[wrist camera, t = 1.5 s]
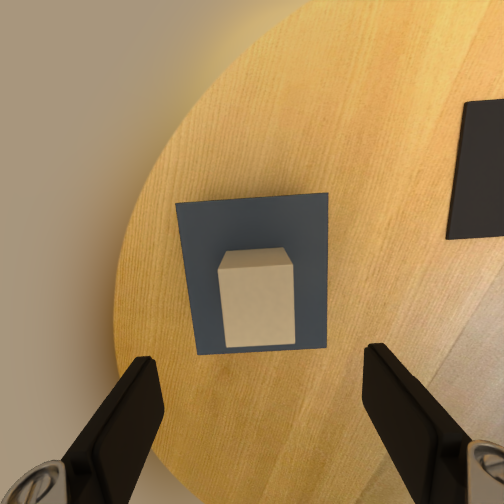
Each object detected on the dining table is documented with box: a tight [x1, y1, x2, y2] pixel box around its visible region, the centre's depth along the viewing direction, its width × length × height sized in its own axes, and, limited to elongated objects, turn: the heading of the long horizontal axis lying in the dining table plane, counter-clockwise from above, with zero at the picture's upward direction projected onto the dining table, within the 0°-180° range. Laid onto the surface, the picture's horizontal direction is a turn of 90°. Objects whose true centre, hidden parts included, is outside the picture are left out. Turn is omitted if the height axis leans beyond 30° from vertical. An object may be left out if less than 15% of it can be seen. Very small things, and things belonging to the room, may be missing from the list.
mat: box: [446, 99, 504, 240], centre depth 25 cm, size 14×10×1 cm
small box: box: [218, 247, 295, 348], centre depth 18 cm, size 6×5×5 cm
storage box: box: [175, 193, 328, 355], centre depth 24 cm, size 15×13×7 cm
